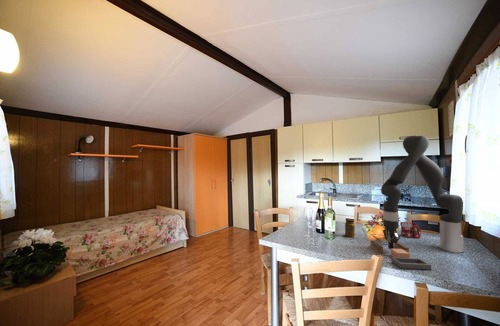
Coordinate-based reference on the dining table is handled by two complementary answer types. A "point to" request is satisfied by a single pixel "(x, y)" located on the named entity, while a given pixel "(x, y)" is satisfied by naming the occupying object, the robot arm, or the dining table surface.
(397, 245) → the channel
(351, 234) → the condiment
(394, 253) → the block
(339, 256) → the dining table surface
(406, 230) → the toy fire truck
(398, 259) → the tray
